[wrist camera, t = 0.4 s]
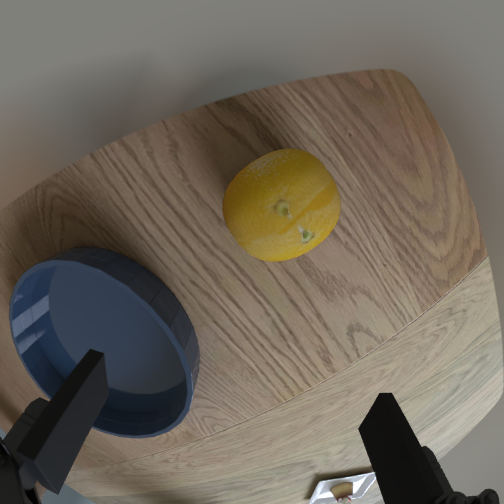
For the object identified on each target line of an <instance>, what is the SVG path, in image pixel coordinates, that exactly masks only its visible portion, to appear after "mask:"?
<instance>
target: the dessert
mask: <svg viewBox="0 0 504 504" xmlns="http://www.w3.org/2000/svg"><path fill="white" fill-rule="evenodd" d="M375 479H376V476H375V473H374V472H368V473H363V474H358V475H353V476H347V477H341V478H334V479H326V480H322V481H319V483H318V485H317V487H316V489H315V491H314V493H313V495H312V497H311V499H310V501H309V503H308V504H327V503H334V502H343V503H344V504H347V503H348V502H350V501H351V499H356V498H361V497H362V496H363V495H364V494H365V493H366V491H367V490H368V489H369V487H370V486H371V485H372V483H373V482H374V480H375ZM349 504H350V503H349Z"/></svg>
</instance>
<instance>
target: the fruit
mask: <svg viewBox="0 0 504 504" xmlns="http://www.w3.org/2000/svg"><path fill="white" fill-rule="evenodd" d="M340 210H341V200H340V195H339V191H338V188H337V186H336V184H335V182H334V180H333V178H332V176H331V174H330V173H329V172H328V170H327V169H326V167H325V166H324V165H323V164H322V162H320V161H319V160H318V159H317V158H316V157H315V156H313V155H312V154H310V153H308V152H306V151H303V150H299V149H281V150H276V151H273V152H270V153H267V154H265V155H263V156H261V157H259V158H258V159H256V160H254V161H253V162H251V163H250V164H248V165H247V166H246V167H245V168H243V169H242V170H241V171H240V172H239V173H238V174H237V175H236V176H235V177H234V179H233V180H232V181H231V182H230V184H229V186H228V187H227V189H226V192H225V195H224V198H223V215H224V219H225V222H226V225H227V227H228V229H229V231H230V232H231V234H232V235H233V237H234V238H235V240H236V241H237V242H238V244H239V245H240V246H241V247H242V248H243V249H244V250H245V251H246V252H247V253H249V254H250V255H252V256H254V257H256V258H258V259H261V260H265V261H284V260H288V259H292V258H295V257H298V256H300V255H302V254H304V253H306V252H308V251H310V250H311V249H313V248H314V247H316V246H317V245H318V244H320V243H321V242H322V241H323V240H324V239H325V238H326V237H327V236H328V235H329V234H330V233H331V231H332V230H333V228H334V227H335V225H336V223H337V221H338V218H339V215H340Z"/></svg>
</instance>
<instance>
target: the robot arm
mask: <svg viewBox="0 0 504 504" xmlns="http://www.w3.org/2000/svg"><path fill="white" fill-rule="evenodd" d="M108 396H109V389H108V382H107V374H106V366H105V356H104V353H102V352H99V351H96V350H93V349H89V350H88V352H87V353H86V354H85V355H84V357H83V358H82V359H81V361H80V362H79V363H78V364H77V366H76V367H75V368H74V370H73V371H72V372H71V373H70V375H69V376H68V377H67V379H66V380H65V381H64V383H63V384H62V385H61V387H60V388H59V389H58V391H57V392H56V393H55V395H54V396H53V397H52V399H51V400H50V402H49V401H46V400H44V399H42V398H40V397H39V398H38V399H36V400H34V401H33V402H31V403H30V404H29V405H28V407H27V408H26V409H25V411H24V413H22V415H21V416H20V419H18V420H17V421H16V423H15V424H14V425H13V427H12V428H11V430H10V431H9V432H8V434H7V435H6V437H5V438H4V439H3V440H2V438H1V437H0V504H41V501H40V498H39V495H38V492H37V489H36V487H35V484H36V482H37V480H38V482H39V483H40V484H41V486H43V487H44V488H46V489H48V490H50V491H52V492H54V493H56V494H59V492H60V490H61V488H62V486H63V483H64V481H65V479H66V477H67V475H68V473H69V471H70V469H71V467H72V465H73V463H74V461H75V459H76V457H77V455H78V453H79V451H80V449H81V447H82V445H83V443H84V441H85V439H86V437H87V435H88V433H89V431H90V429H91V428H92V426H93V424H94V422H95V420H96V418H97V416H98V414H99V413H100V411H101V409H102V407H103V405H104V403H105V401H106V400H107V398H108ZM358 429H359V432H360V435H361V438H362V440H363V443H364V446H365V448H366V451H367V454H368V457H369V459H370V462H371V465H372V468H373V471H374V473H375V476H376V479H377V482H378V485H379V488H380V491H381V494H382V497H383V500H384V502H385V504H499V497H498V494H497V493H496V492H495V491H494V490H492V489H485V490H484V491H483V492H482V493H481V494H479V495H478V496H468V497H466V496H465V495H464V494H463V493H461V492H454V491H453V489H452V488H451V486H450V484H449V482H448V480H447V478H446V476H445V474H444V472H443V470H442V468H440V467H441V466H440V464H439V463H438V462H437V459H436V457H435V455H434V453H433V452H432V451H431V450H430V449H429V448H428V447H427V446H423V447H421V445H420V443H419V441H418V440H417V438H416V436H415V434H414V432H413V430H412V428H411V427H410V425H409V423H408V421H407V419H406V417H405V416H404V414H403V412H402V410H401V408H400V407H399V405H398V403H397V401H396V399H395V398H394V396H393V394H392V393H379V395H378V397H377V398H376V400H375V402H374V404H373V405H372V407H371V409H370V410H369V412H368V414H367V415H366V417H365V419H364V420H363V422H362V423H361V425H360V427H359V428H358Z"/></svg>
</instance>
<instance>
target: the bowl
mask: <svg viewBox="0 0 504 504" xmlns="http://www.w3.org/2000/svg"><path fill="white" fill-rule="evenodd" d="M9 321H10V328H11V334H12V338H13V341H14V344H15V347H16V350H17V353H18V355H19V357H20V359H21V361H22V363H23V365H24V367H25V368H26V370H27V372H28V373H29V375H30V376H31V378H32V379H33V380H34V382H35V383H36V385H37V386H38V387H39V388H40V389H41V391H42V392H43V393H44V394H45V395H46V396H47V397H48V398H49V399H50V400H51V399H52V397H53V396H54V395H55V393H56V392H57V391H58V389H59V388H60V387H61V385H62V384H63V383H64V381H65V380H66V379H67V377H68V376H69V375H70V373H71V372H72V371H73V370H74V368H75V367H76V366H77V364H78V363H79V362H80V361H81V359H82V358H83V357H84V355H85V354H86V353H87V352H88V350H89V349H93V350H96V351H99V352H102V353H104V356H105V366H106V374H107V382H108V389H109V396H108V398H107V400H106V401H105V403H104V405H103V407H102V409H101V411H100V413H99V414H98V416H97V418H96V420H95V422H94V424H93V426H92V428H93V429H96V430H98V431H101V432H103V433H107V434H111V435H115V436H118V437H126V438H148V437H155V436H158V435H161V434H164V433H166V432H169V431H170V430H172V429H173V428H174V427H176V426H177V425H178V424H180V423H181V422H182V420H183V419H184V418H185V416H186V415H187V413H188V412H189V410H190V406H191V402H192V398H193V394H194V390H195V385H196V381H197V377H198V372H199V364H200V353H199V346H198V340H197V337H196V334H195V331H194V328H193V326H192V323H191V321H190V319H189V317H188V315H187V313H186V312H185V310H184V309H183V307H182V305H181V304H180V302H179V301H178V300H177V298H176V297H175V296H174V295H173V293H172V292H171V291H170V290H169V289H168V288H167V287H166V286H165V285H164V284H163V283H162V281H161V280H160V279H158V278H157V277H156V276H155V275H154V274H152V273H151V272H150V271H149V270H148V269H146V268H144V267H143V266H141V265H140V264H138V263H137V262H135V261H134V260H132V259H130V258H128V257H126V256H124V255H122V254H119V253H116V252H113V251H111V250H107V249H102V248H97V247H77V248H72V249H68V250H65V251H63V252H59V253H57V254H55V255H53V256H51V257H49V258H47V259H45V260H43V261H41V262H39V263H37V264H36V265H34V266H33V267H31V268H30V269H28V270H27V271H26V272H24V273H23V275H22V276H21V277H20V279H19V280H18V282H17V283H16V285H15V287H14V290H13V293H12V296H11V300H10V309H9Z"/></svg>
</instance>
